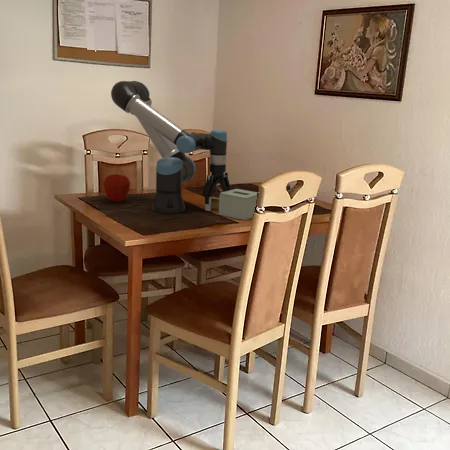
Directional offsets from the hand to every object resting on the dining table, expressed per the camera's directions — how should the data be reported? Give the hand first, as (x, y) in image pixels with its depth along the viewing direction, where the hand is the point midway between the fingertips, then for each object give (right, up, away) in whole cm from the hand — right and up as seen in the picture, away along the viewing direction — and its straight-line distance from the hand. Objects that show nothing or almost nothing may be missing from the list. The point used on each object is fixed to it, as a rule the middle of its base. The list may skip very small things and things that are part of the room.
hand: (216, 208), depth 252 cm
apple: (-48, +3, +4) cm, 48 cm away
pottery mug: (0, +4, +18) cm, 18 cm away
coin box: (+11, -3, -9) cm, 15 cm away
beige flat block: (0, 0, 0) cm, 0 cm away
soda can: (+32, 0, +5) cm, 32 cm away
